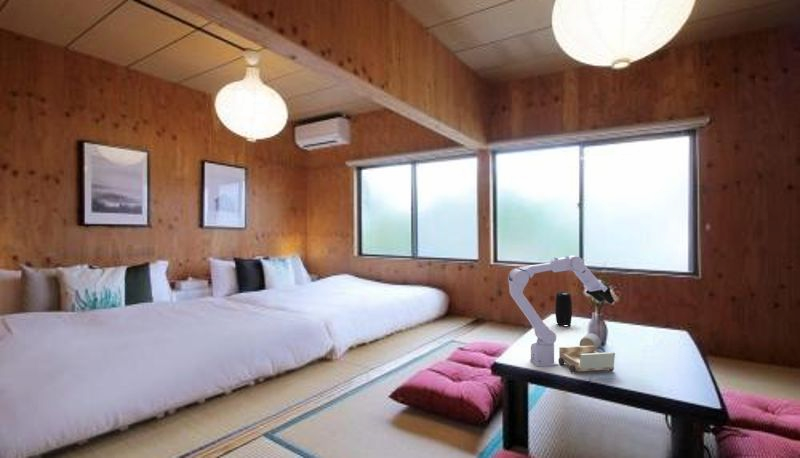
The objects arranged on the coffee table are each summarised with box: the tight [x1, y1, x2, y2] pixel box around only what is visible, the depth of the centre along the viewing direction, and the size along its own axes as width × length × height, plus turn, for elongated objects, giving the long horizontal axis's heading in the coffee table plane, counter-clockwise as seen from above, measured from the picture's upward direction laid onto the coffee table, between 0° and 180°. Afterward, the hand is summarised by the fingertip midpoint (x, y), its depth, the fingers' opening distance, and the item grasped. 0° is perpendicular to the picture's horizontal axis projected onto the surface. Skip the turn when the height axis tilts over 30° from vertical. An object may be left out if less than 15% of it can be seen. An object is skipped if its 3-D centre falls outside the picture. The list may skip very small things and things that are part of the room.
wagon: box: [557, 345, 615, 374], centre depth 173 cm, size 18×14×7 cm
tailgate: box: [579, 351, 616, 369], centre depth 165 cm, size 14×1×6 cm, turn 97°
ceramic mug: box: [579, 332, 606, 353], centre depth 194 cm, size 11×8×8 cm
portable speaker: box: [554, 291, 573, 326], centre depth 244 cm, size 9×9×20 cm
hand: (606, 301), depth 179 cm, fingers open, 7 cm apart
